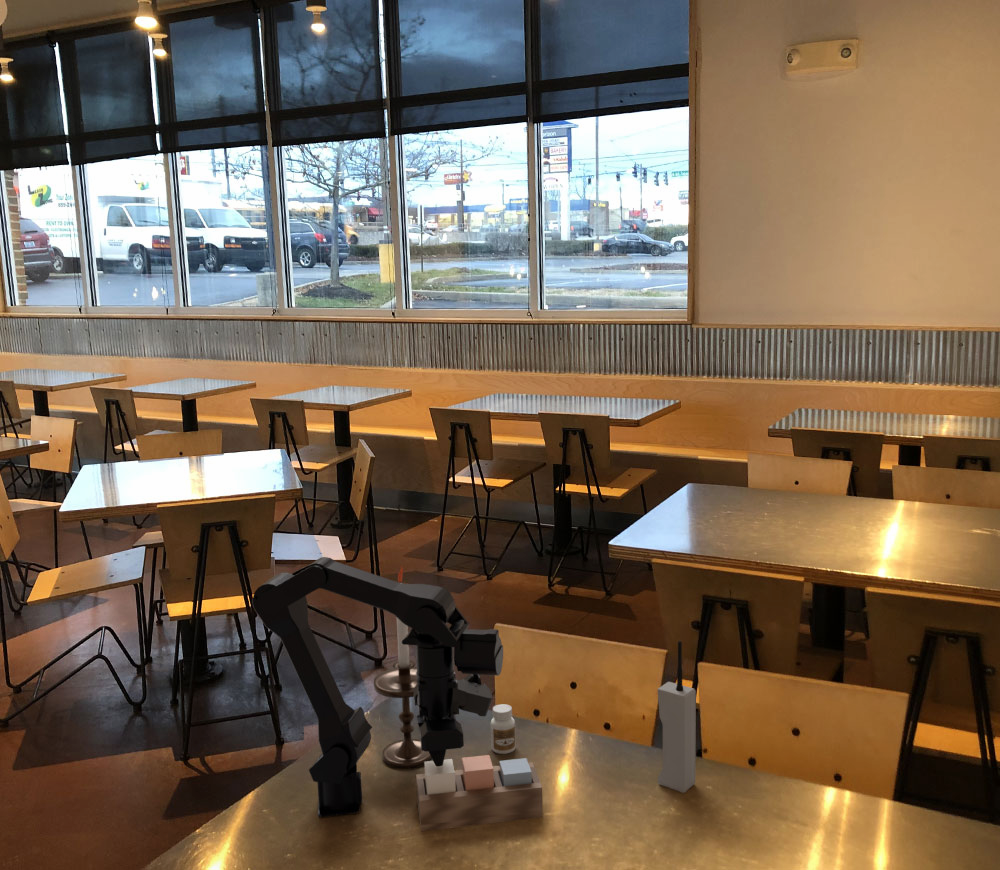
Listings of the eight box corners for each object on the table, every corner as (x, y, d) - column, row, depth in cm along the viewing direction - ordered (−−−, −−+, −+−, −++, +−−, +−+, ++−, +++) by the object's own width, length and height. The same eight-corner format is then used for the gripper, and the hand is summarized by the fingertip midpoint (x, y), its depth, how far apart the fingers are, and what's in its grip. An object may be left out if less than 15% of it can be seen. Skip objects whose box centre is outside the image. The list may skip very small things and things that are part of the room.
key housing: (421, 831, 143) (419, 800, 143) (417, 803, 151) (416, 774, 150) (542, 817, 146) (542, 787, 145) (533, 790, 154) (532, 762, 153)
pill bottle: (494, 756, 166) (493, 715, 164) (488, 745, 170) (487, 704, 169) (518, 752, 167) (517, 711, 166) (511, 741, 171) (510, 701, 170)
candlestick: (449, 759, 165) (442, 567, 159) (393, 777, 159) (383, 579, 154) (421, 735, 174) (413, 553, 169) (367, 751, 169) (357, 563, 163)
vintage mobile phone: (668, 775, 158) (668, 633, 154) (695, 784, 154) (696, 639, 151) (657, 784, 155) (657, 640, 151) (684, 794, 152) (684, 647, 148)
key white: (427, 799, 145) (426, 775, 144) (425, 785, 149) (424, 761, 148) (455, 796, 145) (455, 772, 145) (452, 782, 150) (451, 758, 149)
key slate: (504, 798, 147) (503, 774, 146) (500, 784, 151) (499, 760, 150) (532, 795, 147) (531, 771, 147) (526, 781, 152) (526, 758, 151)
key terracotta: (466, 795, 146) (465, 771, 145) (462, 781, 150) (461, 757, 149) (494, 792, 146) (493, 768, 146) (490, 778, 151) (489, 754, 150)
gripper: (496, 691, 136) (499, 790, 139) (479, 643, 154) (482, 732, 157) (419, 698, 135) (423, 799, 137) (411, 649, 153) (415, 739, 155)
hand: (439, 765), depth 147 cm, fingers closed
